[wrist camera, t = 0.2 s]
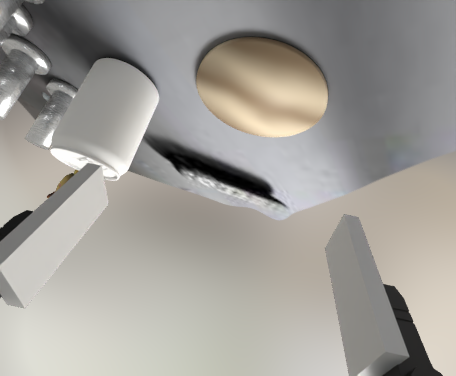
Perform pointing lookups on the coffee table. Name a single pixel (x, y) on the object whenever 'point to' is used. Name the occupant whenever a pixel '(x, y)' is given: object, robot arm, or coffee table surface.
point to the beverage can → (106, 118)
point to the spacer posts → (28, 72)
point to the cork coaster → (262, 87)
